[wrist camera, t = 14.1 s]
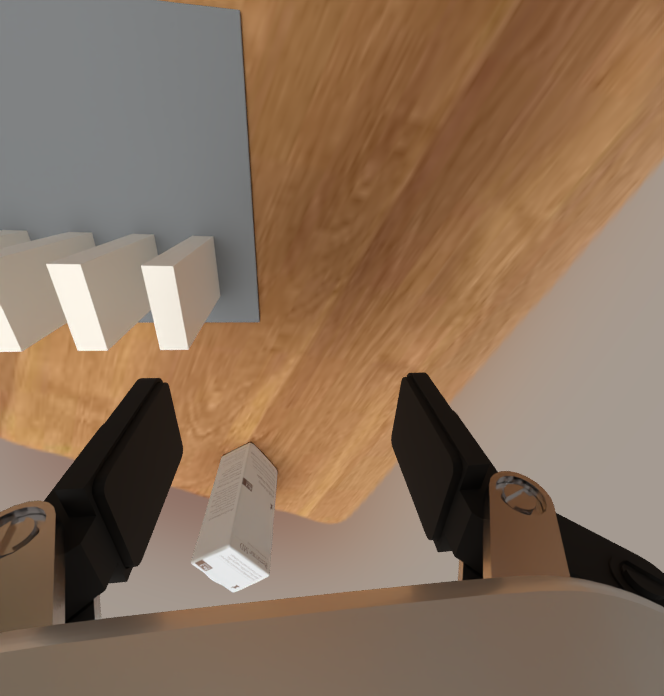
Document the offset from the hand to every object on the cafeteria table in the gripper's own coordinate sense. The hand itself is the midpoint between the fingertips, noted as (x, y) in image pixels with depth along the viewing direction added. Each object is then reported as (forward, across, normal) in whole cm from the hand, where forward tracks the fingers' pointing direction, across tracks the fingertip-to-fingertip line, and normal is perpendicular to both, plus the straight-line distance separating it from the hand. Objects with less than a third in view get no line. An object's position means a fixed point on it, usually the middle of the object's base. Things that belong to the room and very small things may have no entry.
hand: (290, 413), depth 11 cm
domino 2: (+19, +11, 0) cm, 22 cm away
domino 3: (+19, +7, 0) cm, 21 cm away
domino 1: (+19, +16, 0) cm, 25 cm away
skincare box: (+20, +5, +24) cm, 31 cm away
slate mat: (+20, +16, -5) cm, 26 cm away
